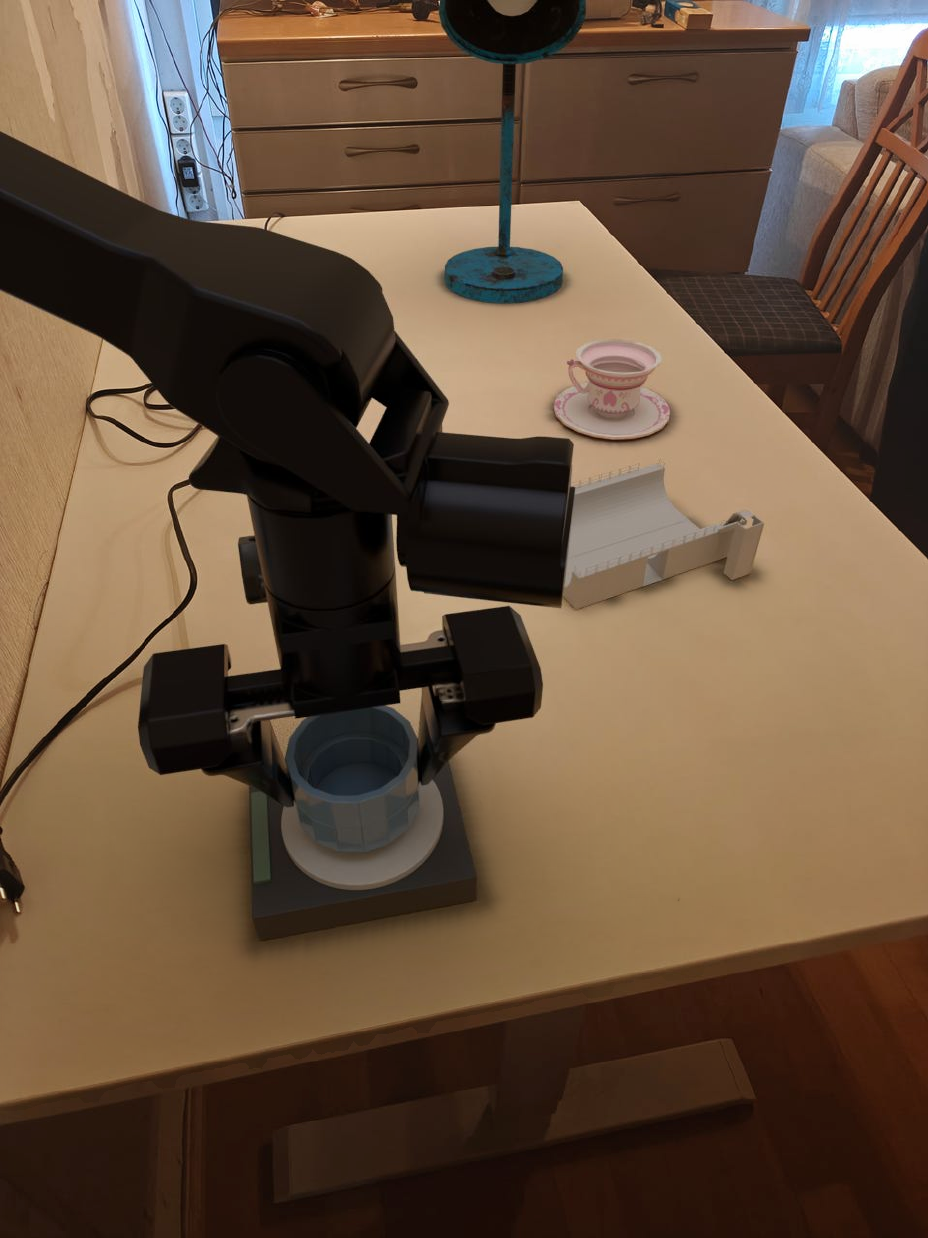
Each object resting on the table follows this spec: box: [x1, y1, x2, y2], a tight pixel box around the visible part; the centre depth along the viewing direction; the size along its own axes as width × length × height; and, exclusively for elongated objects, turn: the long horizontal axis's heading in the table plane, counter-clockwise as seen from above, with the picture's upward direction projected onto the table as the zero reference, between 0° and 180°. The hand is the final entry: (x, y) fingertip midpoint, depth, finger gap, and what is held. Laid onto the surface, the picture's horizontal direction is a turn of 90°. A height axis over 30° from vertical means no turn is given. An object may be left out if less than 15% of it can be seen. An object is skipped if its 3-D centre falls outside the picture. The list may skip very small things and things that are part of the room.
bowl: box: [284, 705, 421, 852], centre depth 47 cm, size 7×7×5 cm
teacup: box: [553, 339, 671, 441], centre depth 88 cm, size 12×12×6 cm
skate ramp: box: [563, 459, 765, 611], centre depth 71 cm, size 15×13×5 cm
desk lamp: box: [438, 0, 587, 304], centre depth 101 cm, size 16×22×45 cm
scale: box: [248, 760, 478, 941], centre depth 50 cm, size 12×10×3 cm
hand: (357, 789), depth 48 cm, fingers closed on bowl, 7 cm apart
